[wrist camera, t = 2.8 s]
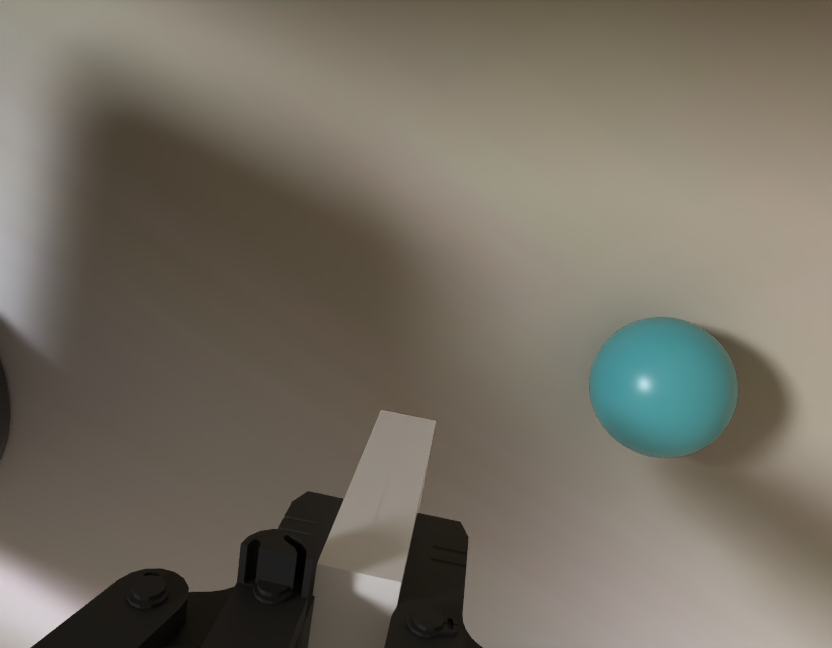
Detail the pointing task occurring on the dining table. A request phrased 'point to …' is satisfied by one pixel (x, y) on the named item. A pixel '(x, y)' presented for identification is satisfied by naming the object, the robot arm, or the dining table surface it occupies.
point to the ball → (663, 387)
